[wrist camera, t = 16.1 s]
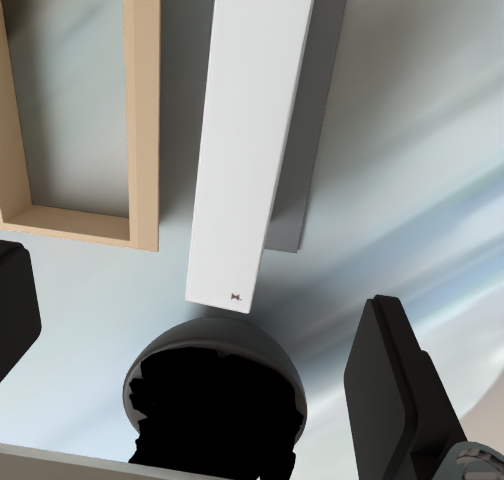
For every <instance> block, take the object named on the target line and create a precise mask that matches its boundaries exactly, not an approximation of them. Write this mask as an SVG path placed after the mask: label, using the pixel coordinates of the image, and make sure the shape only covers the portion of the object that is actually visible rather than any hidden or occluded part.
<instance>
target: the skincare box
mask: <svg viewBox="0 0 504 480" xmlns="http://www.w3.org/2000/svg"><path fill="white" fill-rule="evenodd" d="M313 4H314V0H215V4H214V14H213V25H212V35H211V45H210V55H209V65H208V76H207V86H206V95H205V105H204V115H203V125H202V135H201V145H200V155H199V165H198V174H197V184H196V194H195V204H194V214H193V224H192V233H191V243H190V253H189V263H188V273H187V283H186V293H185V300H187V301H190V302H195V303H199V304H205V305H209V306H214V307H219V308H223V309H228V310H233V311H238V312H242V313H249V312H250V309H251V304H252V299H253V295H254V290H255V285H256V281H257V276H258V272H259V267H260V263H261V259H262V255H263V250H264V245H265V241H266V236H267V232H268V228H269V223H270V219H271V214H272V210H273V205H274V200H275V196H276V191H277V186H278V182H279V177H280V172H281V167H282V162H283V157H284V152H285V147H286V142H287V137H288V132H289V127H290V122H291V117H292V112H293V107H294V102H295V97H296V92H297V87H298V81H299V76H300V71H301V66H302V61H303V56H304V51H305V45H306V40H307V35H308V30H309V25H310V20H311V15H312V9H313Z"/></svg>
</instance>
